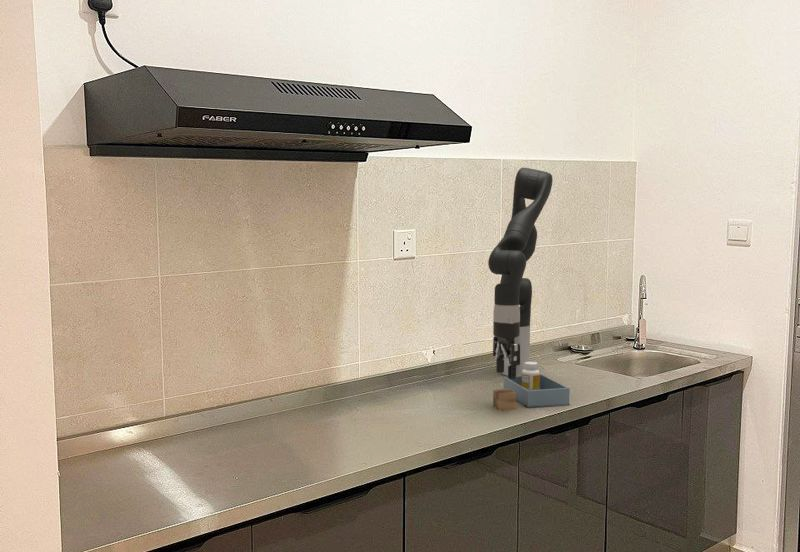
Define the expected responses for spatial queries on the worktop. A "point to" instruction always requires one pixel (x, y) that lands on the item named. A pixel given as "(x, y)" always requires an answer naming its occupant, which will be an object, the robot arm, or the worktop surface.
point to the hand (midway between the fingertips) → (505, 375)
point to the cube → (504, 399)
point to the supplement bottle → (531, 376)
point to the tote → (539, 392)
